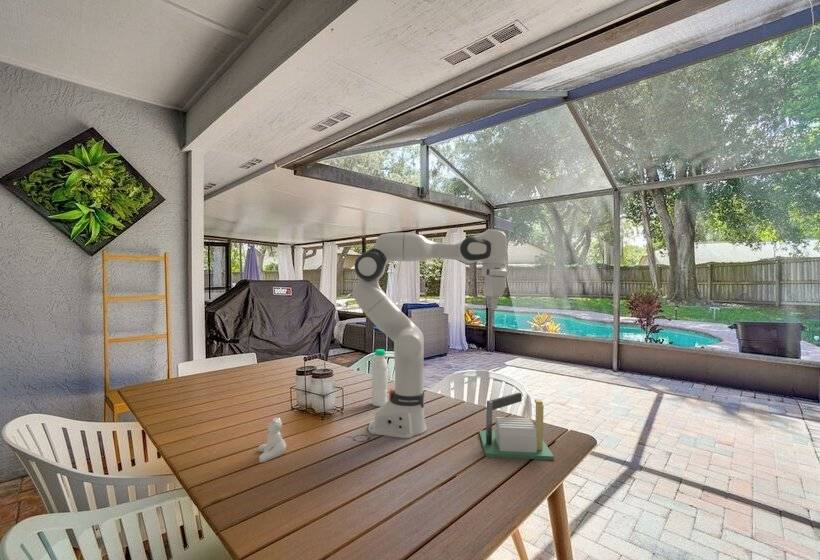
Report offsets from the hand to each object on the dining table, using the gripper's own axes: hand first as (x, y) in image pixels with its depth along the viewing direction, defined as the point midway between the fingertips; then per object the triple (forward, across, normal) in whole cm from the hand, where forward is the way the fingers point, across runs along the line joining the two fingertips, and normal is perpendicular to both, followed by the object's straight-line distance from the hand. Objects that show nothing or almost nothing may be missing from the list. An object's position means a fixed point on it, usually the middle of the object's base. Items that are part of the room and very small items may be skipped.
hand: (491, 308), depth 142 cm
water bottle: (+48, -29, -43) cm, 71 cm away
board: (+47, +9, +9) cm, 49 cm away
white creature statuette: (+52, +20, -73) cm, 91 cm away
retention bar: (+46, +6, +6) cm, 47 cm away
